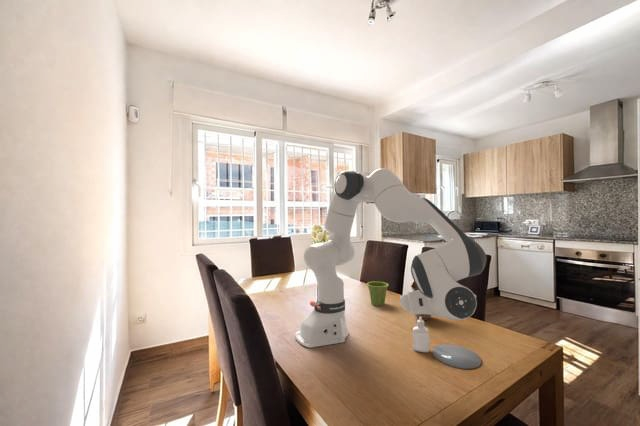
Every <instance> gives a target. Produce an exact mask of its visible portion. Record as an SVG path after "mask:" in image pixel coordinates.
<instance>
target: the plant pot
mask: <svg viewBox="0 0 640 426" xmlns="http://www.w3.org/2000/svg"><path fill="white" fill-rule="evenodd" d="M366 284H367V287H368V291H369V297H370V303H371V305H373V306H378V307H381V306H385V302H386V295H387V291H388V287H389V283H387V282H384V281H369V282H367V283H366Z"/></svg>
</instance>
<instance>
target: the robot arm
mask: <svg viewBox="0 0 640 426" xmlns="http://www.w3.org/2000/svg"><path fill="white" fill-rule="evenodd" d="M360 203H366V204H374V205H375V207H376V208H377V210H378V212H379V213H380V215H381V216H382V217H383V218H384V219H385V220H387V221H389V222H393V223H399V224H400V223H401V224H402V223H412V222H413V223H424V224H427V225H429V226H431V227H432V228H433V229H434V230H435V231H436V232H437V233H438V234H439V236H440V237H441V238H442V239H443V240H445V242H446V244H443V245H440V246H438V247H435V248H433V249H429V250H427V251H424V252H421V253H418V254H417V255H414V257H413V259H412V262H411V267H410V272H411V277H412V280H413V282H415V284H416V286H417V288H418V289H419V290H414V291H413V290H411V291H409V290H408V291H407V293H405V294H402V295H401V296H399V298H400V299H399V300H400V304H401V305H400V306H401V308H402V309H403V310H405V311H406V312H411V315H414V314H417V315H428V314H429V315H432V316H435V317H441V318H444V319H447V320H451V321H464V320H467V319H469V318H470V317H471V316H472V315H474V313H475V311H476V309H477V305H478V303H477V295H476V294H474V292H473V291H472V290H471V289H470V288H469V287H467V286H464V285H462V284H460V283H459V282H458V281H460V280H463V279H466V278H471V277H475V276H479V275H481V274H482V273H483V271H484V269H485V267H486V265H487V255H486V252H485V251H484V249H483V248H482V246H481V245H480V244H479V243H478V242H477V241H475V240H474V239H472V238H471V237H470V236H468V235H467V234H466V233H465V232H464V231H462V230H461V228H459V227H458V226H457V225H456V224H455V223H454V222H453V221H452V220H451V219H450V218H449V217H448V216H447V215H446V214H445V213H444V212H443V211H442V210H441V209H440V208H439V207H437V206H436V205H435V204H434V203H433V202H432V201H431V200H429V199H428V198H425V197H420V196H417V195H415V194H413V193H412V192H411V191H410V190H408V189H407V187H406V186H405V184H404V183H403V182H402V180H401V179H400V178H399V177H398V176H397V175H396V174H395V172H393V171H392V170H391V169H389V168H385V167H382V168H377V169H375V170H374V171H373V172H372V173H370V172H365V171H364V172H362V171H355V170H343V171H341V172H339V174H338V175H337V176H336V178H335V181H334V192H333V194H332V197H331V199H330V203H329V206H328V210H327V212H326V213H327V215H326V218H325V222H324V227H325V230H326V231H327V232H328V234H329V235H328V240H327V241H321V242H315V243H313V244H311V245H308V246H307V247H306V248H305V250H304V253H303V261H304V263H305V265H306V266H307V267H308V268H309V269H310V270H311V271H312V273H314V276H315V279H316V280H315V281H316V284H317V300H316V301H314V300H311V301H310V302H309V305H310V306H311V307H314V309H312V310H311V312H309V314H308V315H307V316H305V318H303V319H302V321H301V323H300V330H297V331H296V332H295V335H294V338H295V339H296V341H297V342H298V343H299V344H300V345H301V346H304V347H306V348H316V347H322V346H323V347H324V346H330V345H335V344H336V345H337V344H342V343H345V342H346V338H347V337H348V335H349V330H348V326H347V322H346V315H345V312H346V299H345V296H344V295H345V293H344V292H345V290H344V288H345V287H344V281H343V279H342V278H341V277H339V276H338V275H337V272H336V271H337V270H336V267H340V266H344V265H346V264H347V263H350V262H351V261H353V259H354V257H355V249H354V246H353V245H352V242H351V232H352V227H353V223H354V220H355V216H356V213H357V209H358V205H359V204H360Z"/></svg>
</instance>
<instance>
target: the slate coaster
mask: <svg viewBox="0 0 640 426" xmlns="http://www.w3.org/2000/svg"><path fill="white" fill-rule="evenodd" d="M432 354H433V357H434V358H435V359H436V360H437V361H439V362H440V363H442V364H444V365H447V366H449V367H451V368H452V367H453V368H457V369H461V370H462V369H464V370H474V369H476V368H479V367H480V366H481V365H482V358H481V357H480V356H479V354H478V353H476V352H474V351H473V350H471V349H469V348H466V347H463V346H460V345H455V344H439V345H437V346H434V347H433V349H432Z"/></svg>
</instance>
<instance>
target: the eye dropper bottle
mask: <svg viewBox="0 0 640 426" xmlns="http://www.w3.org/2000/svg"><path fill="white" fill-rule="evenodd" d="M416 323H417V324H416V326H413V328H412V349H413V350H414V351H415V352H419V353H420V352H421V353H429V352H430V331H429V329H428V328H427V327H425V320H422V317H419V319H418V320H416Z"/></svg>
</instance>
